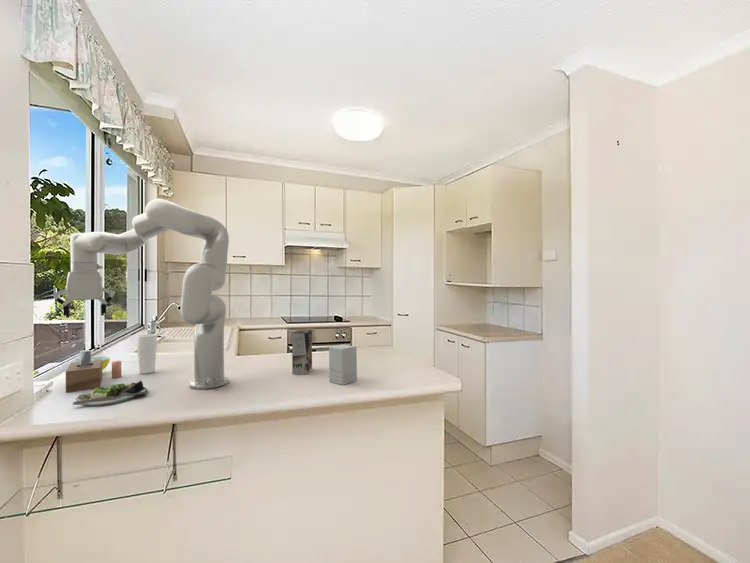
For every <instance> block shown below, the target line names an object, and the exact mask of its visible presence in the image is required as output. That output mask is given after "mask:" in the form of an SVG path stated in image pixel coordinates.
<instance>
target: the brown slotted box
mask: <svg viewBox="0 0 750 563" xmlns="http://www.w3.org/2000/svg"><path fill="white" fill-rule="evenodd" d="M102 381H103V370H102V359H101V360H92V361H91V366H82V367H80V362H73V361H72V362H70V364H69V365H68V367H67V369H66V370H65V393H72V392H79V391H80V392H81V391H88V390H94V389H96V388H101V384H102Z"/></svg>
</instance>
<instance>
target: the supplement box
mask: <svg viewBox="0 0 750 563" xmlns="http://www.w3.org/2000/svg"><path fill="white" fill-rule="evenodd" d="M357 358H358V357H357V346H355V345H349V344H339V345H333V346H329V347H328V359H329V360H328V366H329V367H328V368H329V370H328V371H329V373H328V374H329V376H328V377H329V382H331V383H334V384H338V385H341V386H342V385H343V386H344V385H347V384H351V383H355V382H357V381H358V372H357V371H358V366H357V363H358V362H357V360H358V359H357Z"/></svg>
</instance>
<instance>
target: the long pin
mask: <svg viewBox="0 0 750 563" xmlns="http://www.w3.org/2000/svg"><path fill="white" fill-rule="evenodd" d="M91 355H92V350H89V349H86V350H80V351H79V359H80V367H82V366H91V357H92V356H91Z"/></svg>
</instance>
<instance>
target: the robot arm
mask: <svg viewBox="0 0 750 563" xmlns="http://www.w3.org/2000/svg"><path fill="white" fill-rule="evenodd" d="M131 225H132V228H131V229H129V230H127V231H124V232H123V233H118V234H117V233H112V232H106V231H91V232H74V233H72V234H71V235H70V240H69V241H70V243H69V244H70V248H69V249H70V271H68V273H67V278H66V285H65V286H66V288H63V289H61V290H58V291H56V292H53V293H52V297H53V298H54V300H55V301H56V302H57V303H58V304H60V305H62V308H63V316H65V318H70V317H71V316H70V308H71V307H70V305H69V304H70V303H71V302H72V301H89V300H90V301H91V300H93V301H94V300H98V301H99V302H100V303H101V304H100V315H101V316H105V314H106V313H107V304H108V303H109V302H110V301H111V300H112V299H113V297H114V296H115V294H116V292H115V291H114V290H111V289H109V288H105V287H104V284H103V276H102V273H101V271H99V270H103V268H104V265H103V264H99V259H98V258H99V254H106V255H116V256H117V255H125V254H128V253H131V252H132V251H135V250H137V249H140V248H141V247H144V246H145V244H146V243H148V242H149V240H151V238H154V237H156V236H158V235H161V234H164V233H166V232H169V231H174V232H176V233H178V234H182V235H185V236H187V237H193V238H196V239H201V240H203V241H204V244H203V245H202V248H201V251H200V261H199V263H194V264H193V265H191V266H190V267H188V268H187V270H186V271H185V272H184V276H183V280H182V288H181V289H182V290H181V298H180V314H181V317H182V318H183V320H184V321H185V322H186V323H188V324H190V325H195V328H194V337H193V339H194V340H193V342H194V343H193V347H194V348H193V350H194V351H193V352H194V354H193V356H194V357H193V358H194V360H193V361H194V364H193V366H194V379H193V380H191V381H190V382H189V387H190V388H191V389H194V390H195V389H196V390H205V389H206V390H209V389H213V388H219V387H223V386H225V385H226V384H229V382H230V380H229V377H226V376H225V348H224V347H225V321H226V316H227V309H226V308H227V307H226V303H225V301H224V300H223V299H222V298H221V297H220V296H218V295H216V294H212V293H213V292H215V291H218V290H220V289H222V288H223V287H224V285H225V283H226V275H227V274H226V273H227V265H228V264H227V262H228V251H229V243H230V242H229V241H230V240H229V239H230V236H229V233H228V230H227V228H226V227H225V225H223V223H221V222H220V221H218V220H217V219H215V218H214V217H211V216H209V215H207V214H204V213H202V212H198V211H195V210H193V209H189V208H188V207H187V208H186V207H184V206H181V205H178V204H177V203H175V202H172V201H169V200H167V199H164V198H155V199H152V200H150V201H149V202H148V203H147V204H146V205H145V208H144V213H141V214H137V215H135V216H134V217H133V218H132V220H131ZM104 293H107V294H109V295H108V297H107V298H106V299H104ZM63 294H65V298H66V300H64V299H62V298H61V297H60V296H61V295H63Z"/></svg>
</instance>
